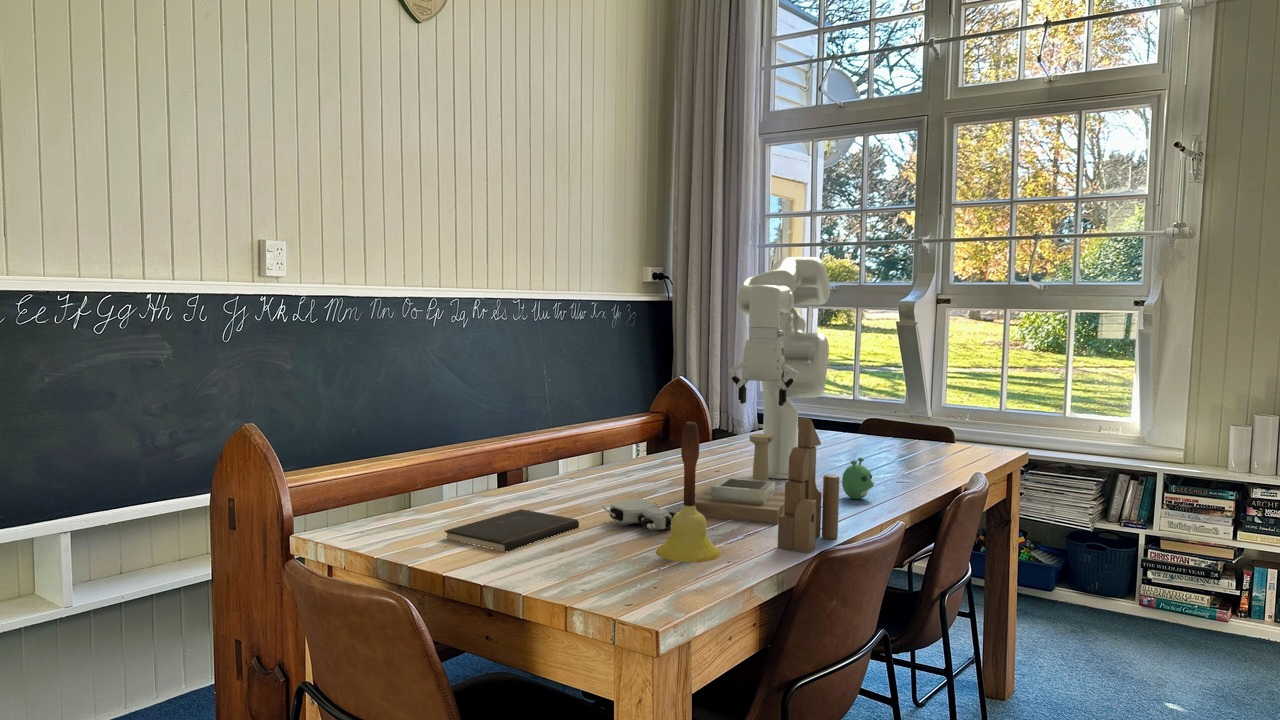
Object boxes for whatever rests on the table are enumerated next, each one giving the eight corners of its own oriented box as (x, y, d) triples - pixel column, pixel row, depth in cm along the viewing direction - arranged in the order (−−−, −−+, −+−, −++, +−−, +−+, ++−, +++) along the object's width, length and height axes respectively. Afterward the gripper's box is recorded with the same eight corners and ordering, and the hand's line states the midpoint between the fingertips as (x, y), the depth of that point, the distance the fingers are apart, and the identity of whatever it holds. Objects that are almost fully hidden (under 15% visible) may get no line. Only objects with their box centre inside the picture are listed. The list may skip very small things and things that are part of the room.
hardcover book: (444, 541, 175) (444, 530, 175) (521, 519, 194) (521, 509, 194) (505, 555, 166) (505, 543, 166) (579, 530, 185) (579, 519, 185)
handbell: (730, 559, 164) (733, 426, 162) (667, 564, 160) (670, 427, 159) (707, 542, 176) (709, 417, 174) (647, 546, 172) (649, 418, 171)
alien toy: (866, 503, 212) (867, 462, 212) (836, 499, 217) (837, 458, 216) (877, 498, 218) (879, 458, 217) (848, 494, 223) (849, 455, 222)
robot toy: (688, 531, 188) (638, 513, 198) (690, 510, 187) (639, 494, 197) (649, 542, 179) (598, 523, 189) (650, 520, 178) (599, 502, 189)
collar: (725, 489, 212) (725, 477, 211) (774, 494, 207) (775, 481, 207) (711, 499, 200) (711, 486, 200) (763, 504, 196) (763, 491, 196)
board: (713, 497, 217) (713, 485, 217) (794, 504, 210) (795, 492, 210) (689, 514, 198) (689, 501, 198) (777, 523, 191) (777, 510, 191)
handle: (775, 495, 220) (777, 435, 219) (759, 498, 216) (760, 437, 215) (760, 491, 224) (762, 433, 223) (744, 495, 220) (745, 435, 219)
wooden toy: (809, 554, 168) (812, 424, 167) (777, 548, 172) (780, 421, 170) (840, 537, 181) (843, 416, 179) (809, 532, 185) (813, 413, 183)
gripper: (801, 335, 218) (799, 404, 219) (733, 334, 224) (732, 401, 225) (796, 336, 211) (794, 407, 212) (725, 334, 217) (724, 403, 218)
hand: (762, 404), depth 218 cm, fingers open, 9 cm apart
